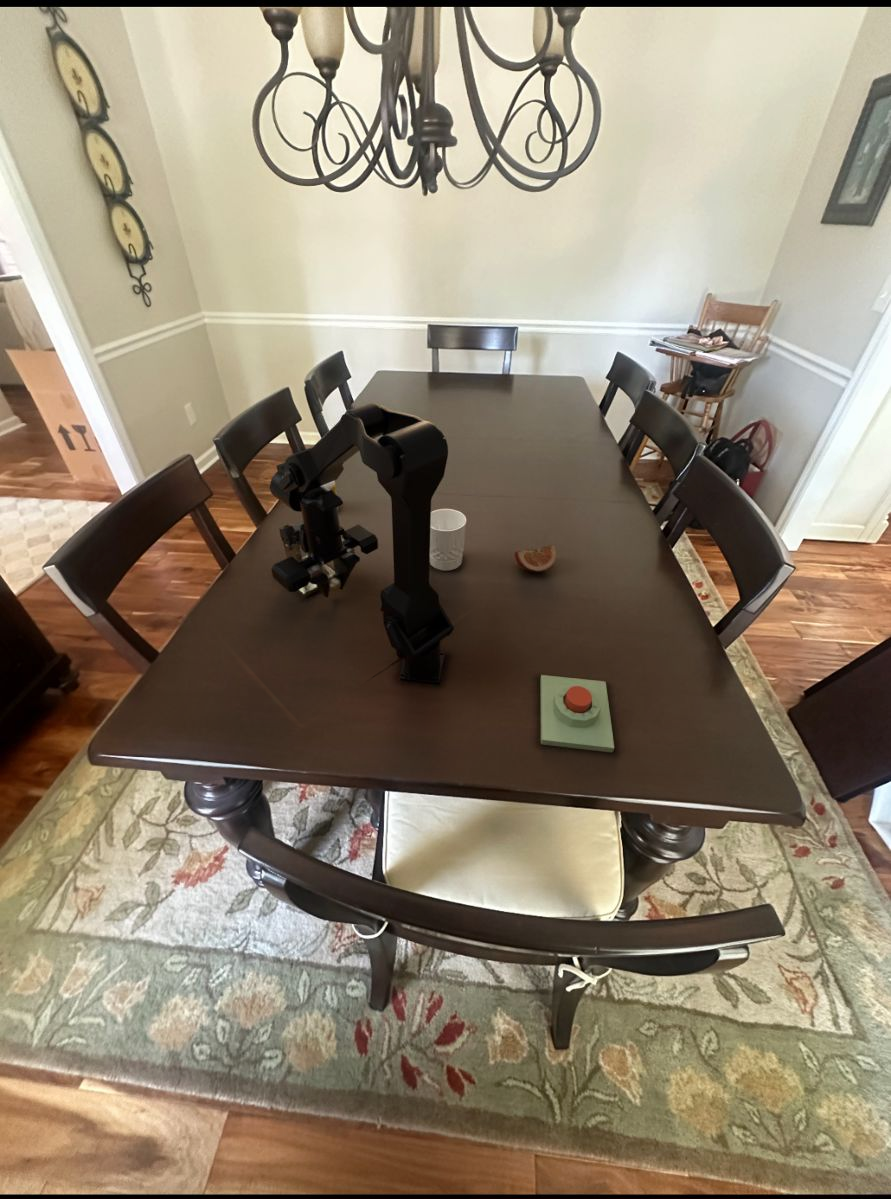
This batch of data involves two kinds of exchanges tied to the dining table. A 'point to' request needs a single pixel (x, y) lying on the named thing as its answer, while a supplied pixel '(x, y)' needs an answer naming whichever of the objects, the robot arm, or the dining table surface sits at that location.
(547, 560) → the fruit slice
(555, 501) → the dining table surface
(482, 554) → the dining table surface
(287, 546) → the bracket
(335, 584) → the lever
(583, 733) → the switchbox
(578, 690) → the button
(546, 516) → the dining table surface
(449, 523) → the white cup
